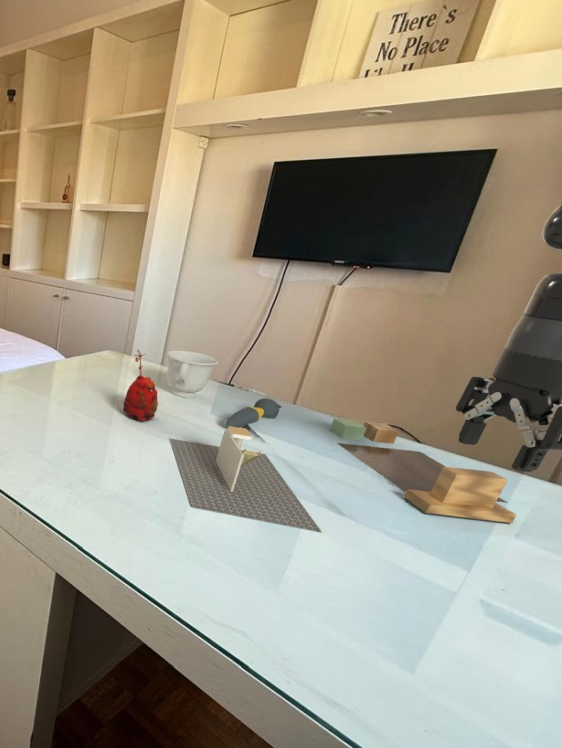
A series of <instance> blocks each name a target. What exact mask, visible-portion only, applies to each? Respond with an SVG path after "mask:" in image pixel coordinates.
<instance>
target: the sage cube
mask: <svg viewBox="0 0 562 748" xmlns="http://www.w3.org/2000/svg"><path fill="white" fill-rule="evenodd" d="M365 430H366V427H364V425H363V424H361V423H359V422H357V421H356V420H354V419H346V418H345V419H344V418H336V417H335V418H333V420H332V423H331V426H330V428H329V431H330V432H331V433H333V434H334V435H335V436H337V437H338V438H340V439H345V440H355V441H362V440H363V438H364V433H365Z"/></svg>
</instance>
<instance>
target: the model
mask: <svg viewBox="0 0 562 748" xmlns="http://www.w3.org/2000/svg"><path fill="white" fill-rule="evenodd" d="M252 438H253V436H252V434H251V433H250V432H249V430H248V429H247V428H244V427H239V428H238V427H231V426H229V427H225V428H224V431H223V434H222V437H221V441H220V445H219V446H218V447H219V448H218V452H217V455H216V459H215V462H216V464H217V466H218V468H219V470H220V472H221V474H222V476H223V478H224V480H225V482H226V484H227V486H228V488H229V491H230V492H233V491H234V490H235V486H236V483H237V480H238V477H239V473H240V470H241V467H243V466H245V465H246V464H248V463H250V462H251V461H253V460H255V459H256V458H258V457H259V456H260V455H261V454H262V452H261V451H258V452H257V451H252V450H247V449H246V448H244V449H243V450H242V444H243V440H246V441H251V440H252Z"/></svg>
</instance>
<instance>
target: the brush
mask: <svg viewBox="0 0 562 748" xmlns="http://www.w3.org/2000/svg"><path fill="white" fill-rule="evenodd" d="M508 481H509V480H508V479H507V478H505V477H503V476H501V475H500V474H497V473H495V472H494V471H488V470H480V469H469V468H460V467H451V466H446V467H443V468H442V470H441V472H440V474H439V476H438V478H437V481H436V483H435V485H434V487H433V489H432V491H431V492H428V491H420V490H411V489H408V490H407V491H405V494H404V496H403V498H404V499H403V500H404V502H406V503H408V504H409V505H410V506H412V507H413V508H414V509H416V510H417V511H419V512H420V513H421V514H423V515H426V516H433V517H434V516H436V517H442V518H443V517H444V518H453V519H459V520H470V521H478V522H486V523H495V524H504V525H510V524H513V523H514V521H515V519H516V517H517V513H515V512H513V511H511V510H509V509H508V508H506V507H505V506H503V505H502V504H500V503H498V502H497V499H498V497H499V498H500V495H501V494H502V492H503V490H504V488H505V487H506V485H507V482H508Z"/></svg>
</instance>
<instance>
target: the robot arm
mask: <svg viewBox="0 0 562 748" xmlns="http://www.w3.org/2000/svg"><path fill="white" fill-rule="evenodd" d="M541 236H542V240H543V242H544V244H545V245H546V246H548V247H549V248H551V249H552V250H556V251H560V252H562V203H561V204H559V205H558V206H557V207H556V208H555V209H554V210H553V211H552V212H551V213H550V214H549V215H548V217H547V218H546V220H545V222H544V224H543V227H542V230H541ZM491 375H492V377H487V376H472V377H470V380H469V381H468V383H467V385H466V387H465V389H464V391H463V393H462V395H461V396H460V398H459V400H458V402H457V403H456V406H455V410H456V411H457V412H459V413H462V414H463V418H464V419H465V421H464V423H463V424H462V427H461V429H460V431H459V433H458V442H459V443H461V444H462V445H469V446H475V445H477V444H478V443H479V440H480V439H481V436H482V435H483V433H484V431H485V428H486V427H487V423H486V422H487V421H489V420H491V419H492V418H495V417H502V418H503V417H504V418H505V419H506V420H508V421H510V422H512V423H515V424H516V427H517V430H518V431H519V432H521V433H522V436H523V440H524V444H523V445H522V446H521V447H520V449H519V451H518V452H517V454H516V457H515V459H514V461H513V462H512V464H511V468H512V469H513V470H515V471H517V472H524V473H531V472H533V471H536V470H537V469H539V468H540V465H541V463H542V461H543V460H544V459H545V457H546V455H547V453H548V452H549V451H561V452H562V271H556V272H550V273H548V274H545V275H544V276H543V277H541V278H540V279H539V281H538V283H537V284H536V285H535V288H534V290H533V292H532V294H531V296H530V299H529V301H528V303H527V305H526V306H525V309H524V311H523V314H522V315H521V317H520V318H519V320H518V321H517V322H516V324H515V325H514V327H513V328H512V330H511V332H510V335H509V336H508V339H507V341H506V343H505V345H504V347H503V349H502V352H501V354H500V356H499V357H498V359H497V362H496V364H495V366H494V368H493V371H492V372H491ZM471 401H472V402H471ZM470 403H471V404H470ZM537 422H538V424H536V423H537ZM534 423H535V424H534Z"/></svg>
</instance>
